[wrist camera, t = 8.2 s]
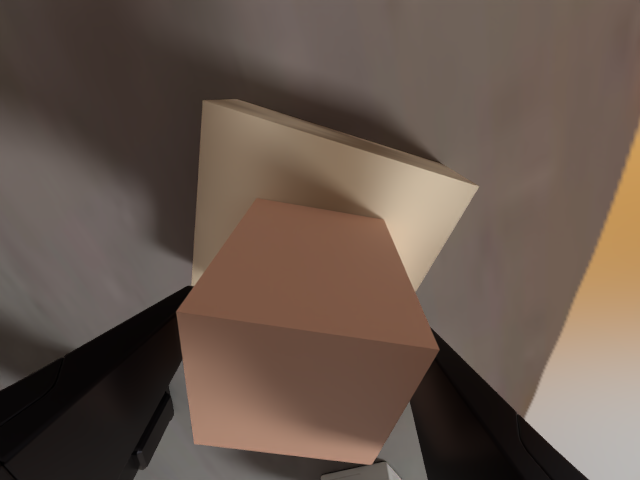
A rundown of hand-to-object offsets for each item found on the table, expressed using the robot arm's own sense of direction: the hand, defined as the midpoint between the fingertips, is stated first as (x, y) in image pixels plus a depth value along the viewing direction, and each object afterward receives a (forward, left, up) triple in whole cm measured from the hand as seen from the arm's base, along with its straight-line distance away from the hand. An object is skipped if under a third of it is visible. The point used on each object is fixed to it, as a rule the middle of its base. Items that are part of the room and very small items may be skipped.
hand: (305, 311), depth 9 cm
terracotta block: (0, 0, -3) cm, 3 cm away
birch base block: (0, 0, -7) cm, 7 cm away
